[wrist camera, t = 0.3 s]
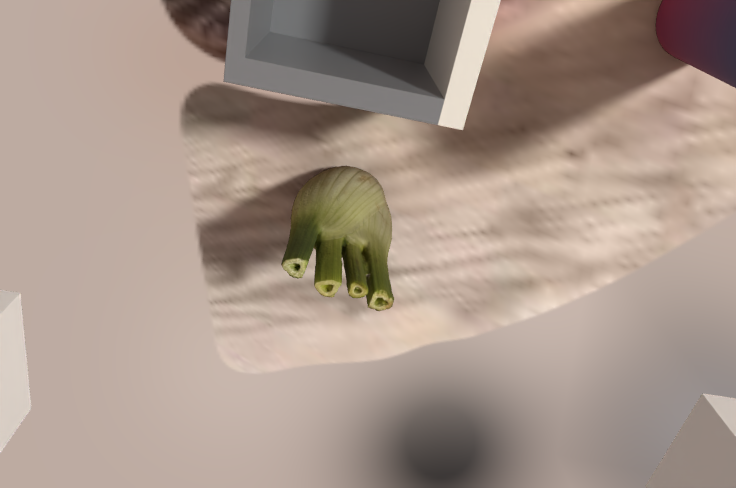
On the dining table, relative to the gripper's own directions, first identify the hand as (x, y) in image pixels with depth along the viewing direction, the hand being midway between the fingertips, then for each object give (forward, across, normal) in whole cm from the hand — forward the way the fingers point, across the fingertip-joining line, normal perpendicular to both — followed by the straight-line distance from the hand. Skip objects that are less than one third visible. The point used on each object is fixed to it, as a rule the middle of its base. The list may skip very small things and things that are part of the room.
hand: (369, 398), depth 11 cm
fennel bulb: (+27, 0, -7) cm, 28 cm away
